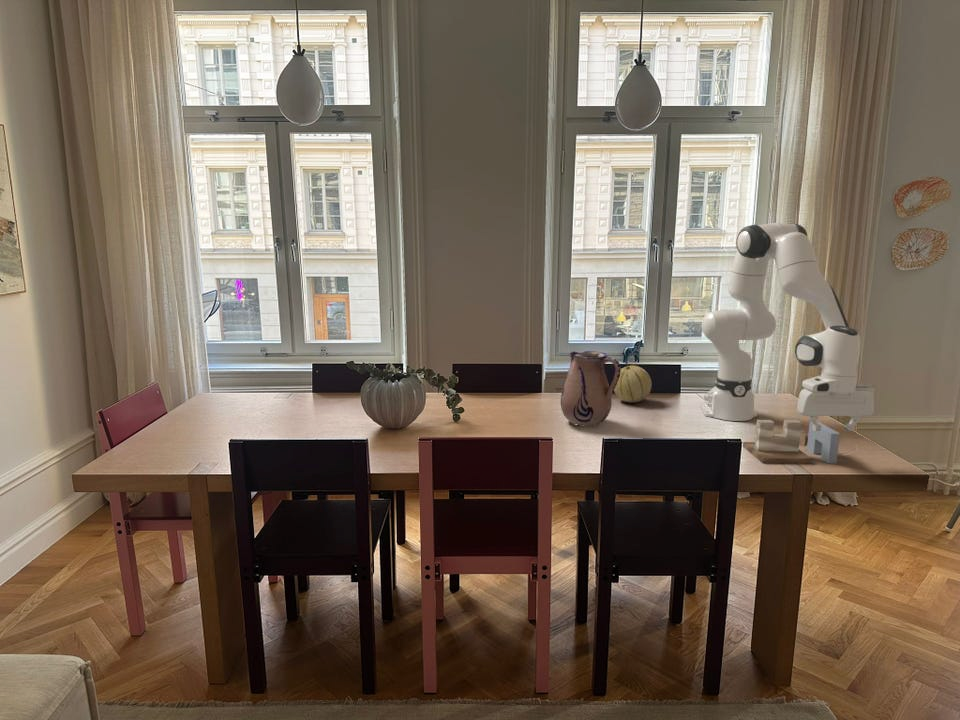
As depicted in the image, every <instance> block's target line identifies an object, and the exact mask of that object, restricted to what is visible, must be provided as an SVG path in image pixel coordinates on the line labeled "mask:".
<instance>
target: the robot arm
mask: <svg viewBox="0 0 960 720" xmlns="http://www.w3.org/2000/svg"><path fill="white" fill-rule="evenodd" d="M735 242H736V245H735V246H736V249H737V250H736V252H735V255H734V259H733V263H732V266H731V272H730V277H729V283H728V288H727V289H728V294H729V295H730V297H732V298H733V299H735V300H736V301H738V302H739V308H738V309H719V310H714V311H710V312H707V313H706V314H705V315H704V317H703V319H702V321H701V331H702V333H703V334H704V336H705V337H706V339H708V340H709V341H710V342H711V343H712V344H713V345H714V347H715V349H716V353H717V358H718V363H717V364H718V366H717V376H716V379H715V381H714V387H712V388H711V389H710V390H709V391H708V392H707V394H705V395H704V396H703V398H704V402H700V403H699V407H700V409H701V411H702V413H703V415H704V416H705V417H710V418H715V419H719V420H723V421H724V420H725V421H731V422H733V421H734V422H746V421H751V420H753V418H756V417H758V413H757V412H756V411H755V394H754V393H753V392H752V391H751V390H752V386H753V380H752V369H753V368H752V367H753V359H752V356H751V355H750V354H749V353H748V352H746V351H744V350H743V349H741V348H740V341H759V340H763V339H767V338H770V337H771V336H773V335H774V333H775V332H776V331H775V330H776V329H777V320H776V318H775V316H774V314H773V313H772V312H771V311H770V310H768V308H767V306H766V304H765V300H764V288H765V283H766V277H767V271H768V265H769V262H770V260H771V259H774V261H775V265H776V272H777V275H778V281H779V284H780V287H781V288H782V289H783V291H784V292H785V293H786V294H788V295H789V296H791V297H793V298H796V299H799V300H802V301H804V302H806V303H809V304H810V305H812V306H813V307H814V308H816V310H817V311H818V313H819V315H820V319H821V321H822V323H823V325H824V328H825V330H822V331H820V332H816V333H813V334H807V335H803V336H801V337H800V338H799V339H798V340H797V342H796V344H795V346H794V347H795V348H794V354H795V358H796V360H797V362H798V363H799V364H801V365H802V366H804V367H808V368H809V367H810V368H818V367H820V368H821V373H820V374H819V375H816V376H814V377H810V378H807V379H804V380H803V381H802V382H801V383H802V384H801V386H802V387H803V389H802V390H800V392H799V395H798V400H797V405H796V406H797V409H796V411H797V412H798V414H800V415H801V416H803V417H809V420H810V421H812V423H813V430H814V431H821V425H819V424H818V423H817V421H818V420H819V417H850V418H851V419H850V421H849V422H848V423H845V430H846V431H848V432H854V431H855V426H856V425H857V424H858V422H859V421H860V418H861V417H871V416H872V415H873V414H874V412H875V400H874V399H875V398H874V396H875V388H874V386H873V385H871V384H870V383H857V382H858V371H857V369H858V368H857V365H858V363H859V361H860V352H861V338H860V334H859V331H857V330H856V329H855V328H852V327H850V326H849V323H848V322H847V321H848V320H847V319H846V318H847V317H846V316H845V314H844V311H843V308H842V306H841V304H840V301H839V299H838V296H837V294H836V292H835V290H834V289H833V287H832V286H831V285H830V284H829V282H828V281H827V280H826V279H825V277H824V275H823V274H822V272H821V269H820V267H819V264H818V259H817V255H816V253H815V250H814V248H813V245H812V243H811V241H810V239H809V236H808V232H807V230H806V228H805V227H804V226H803V225H801V224H797V223H793V222H790V223H782V222H771V223H763V224H751V225H747V226H744V227H743V228H742V229H740V231H739V232H738V234H737V237H736V241H735Z"/></svg>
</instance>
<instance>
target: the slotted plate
mask: <svg viewBox="0 0 960 720" xmlns="http://www.w3.org/2000/svg"><path fill="white" fill-rule="evenodd" d="M816 421H817V423H818V424H819V425H821V431H814V430H813V423H812V421H811V420H810V421H809V427H808V435H807V443H806V450H807V451H809V452H810V453H812V454H814V455H815V454H816V455H820V459H821V460H822V461H824V462H825V463H827V464H837V461H838V453H839V447H840V436H841V433H839V432H838V431H836V430H835V429H832V428H831V427H829V426H827V425H825V424H824V423H822V422H820V421H818V420H816Z"/></svg>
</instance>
